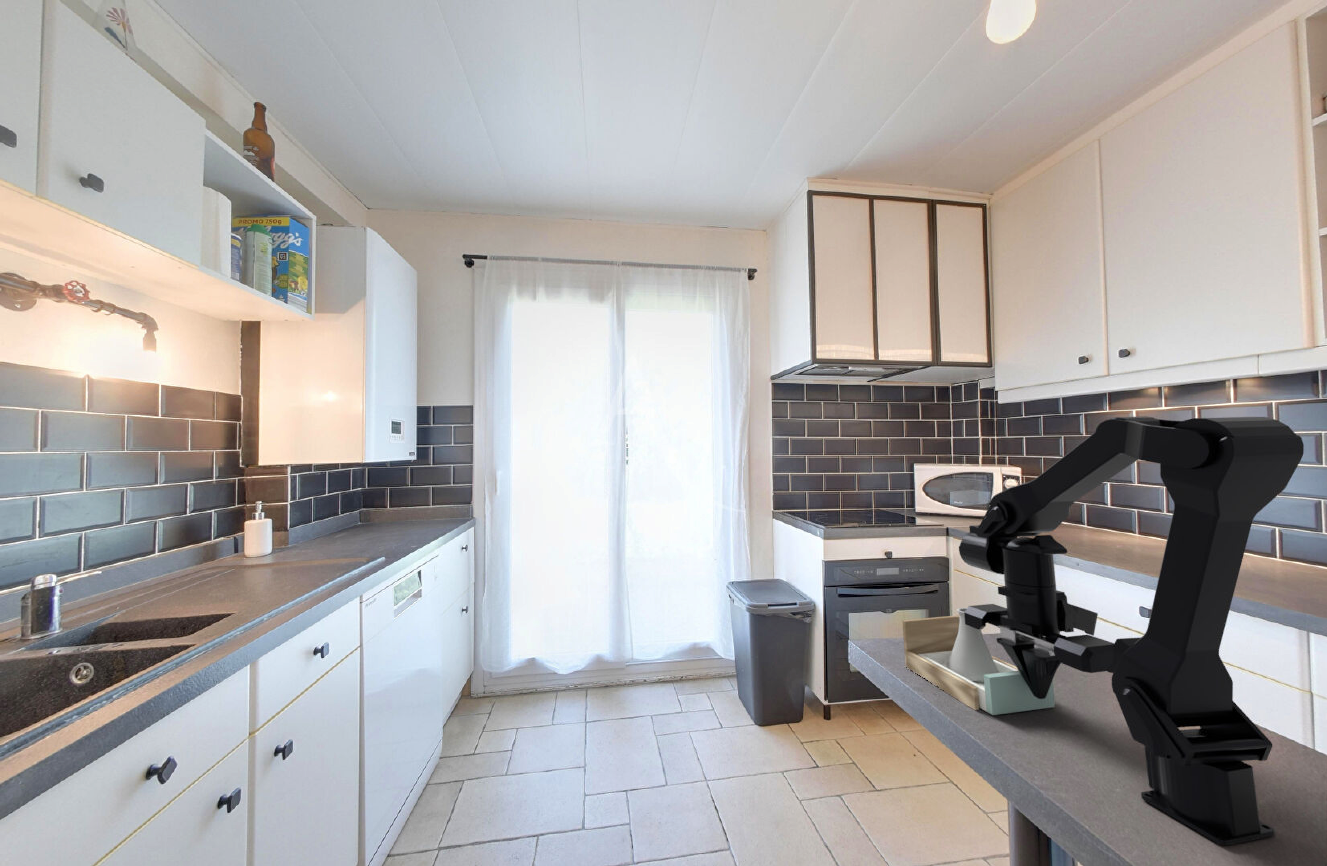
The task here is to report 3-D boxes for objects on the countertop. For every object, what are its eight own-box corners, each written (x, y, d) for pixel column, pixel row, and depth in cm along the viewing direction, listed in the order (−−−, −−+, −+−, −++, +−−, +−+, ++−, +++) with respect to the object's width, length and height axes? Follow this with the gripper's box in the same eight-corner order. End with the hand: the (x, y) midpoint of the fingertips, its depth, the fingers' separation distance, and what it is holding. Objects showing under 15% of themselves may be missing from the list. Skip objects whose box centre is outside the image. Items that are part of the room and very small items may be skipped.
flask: (964, 684, 72) (959, 617, 73) (938, 665, 79) (933, 604, 80) (1012, 684, 71) (1006, 616, 72) (982, 664, 79) (977, 603, 79)
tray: (1055, 707, 66) (1051, 670, 67) (992, 715, 65) (989, 677, 65) (971, 665, 81) (969, 635, 81) (918, 671, 79) (916, 640, 79)
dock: (1047, 701, 68) (1041, 644, 69) (975, 710, 66) (970, 652, 67) (966, 661, 83) (962, 614, 84) (905, 667, 81) (902, 620, 82)
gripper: (1155, 595, 58) (1170, 727, 56) (1018, 565, 76) (1027, 664, 75) (1080, 602, 56) (1093, 738, 55) (958, 569, 74) (966, 671, 73)
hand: (1039, 697), depth 64 cm, fingers closed
